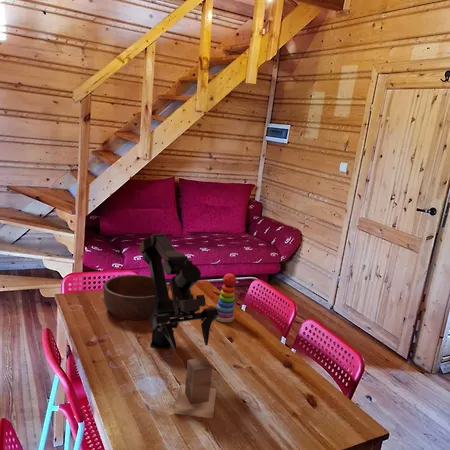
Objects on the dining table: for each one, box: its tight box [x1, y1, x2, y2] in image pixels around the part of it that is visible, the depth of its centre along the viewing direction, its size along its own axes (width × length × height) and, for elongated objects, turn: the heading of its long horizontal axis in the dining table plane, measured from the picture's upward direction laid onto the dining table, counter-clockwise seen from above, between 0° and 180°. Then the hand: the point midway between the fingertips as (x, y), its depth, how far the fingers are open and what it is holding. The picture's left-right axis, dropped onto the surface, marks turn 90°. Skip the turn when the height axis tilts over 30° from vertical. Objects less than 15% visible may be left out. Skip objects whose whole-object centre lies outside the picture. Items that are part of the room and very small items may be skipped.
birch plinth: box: [173, 384, 217, 419], centre depth 114 cm, size 10×10×2 cm
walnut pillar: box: [184, 357, 213, 405], centre depth 113 cm, size 5×5×10 cm
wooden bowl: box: [102, 274, 170, 321], centre depth 167 cm, size 25×25×10 cm
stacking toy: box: [215, 273, 237, 323], centre depth 166 cm, size 8×8×19 cm
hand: (191, 347), depth 120 cm, fingers open, 9 cm apart
